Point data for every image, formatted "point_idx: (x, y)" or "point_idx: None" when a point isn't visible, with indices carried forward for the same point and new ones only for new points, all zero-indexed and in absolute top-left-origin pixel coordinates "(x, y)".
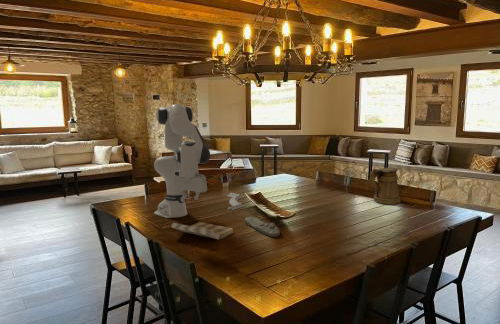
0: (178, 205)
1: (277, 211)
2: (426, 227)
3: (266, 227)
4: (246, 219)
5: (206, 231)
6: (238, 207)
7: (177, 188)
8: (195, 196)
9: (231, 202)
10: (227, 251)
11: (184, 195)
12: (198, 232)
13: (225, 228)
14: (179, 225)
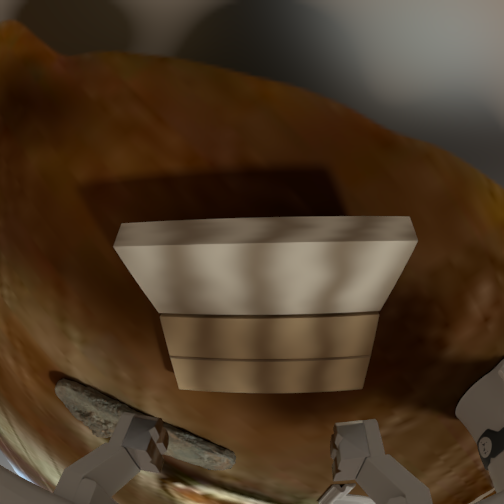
0: (490, 418)
1: (216, 500)
2: (4, 448)
3: (104, 417)
4: (215, 455)
5: (121, 238)
6: (325, 495)
7: (496, 500)
8: (118, 447)
9: (363, 500)
10: (55, 213)
11: (348, 451)
12: (177, 222)
13: (203, 380)
14: (353, 233)
